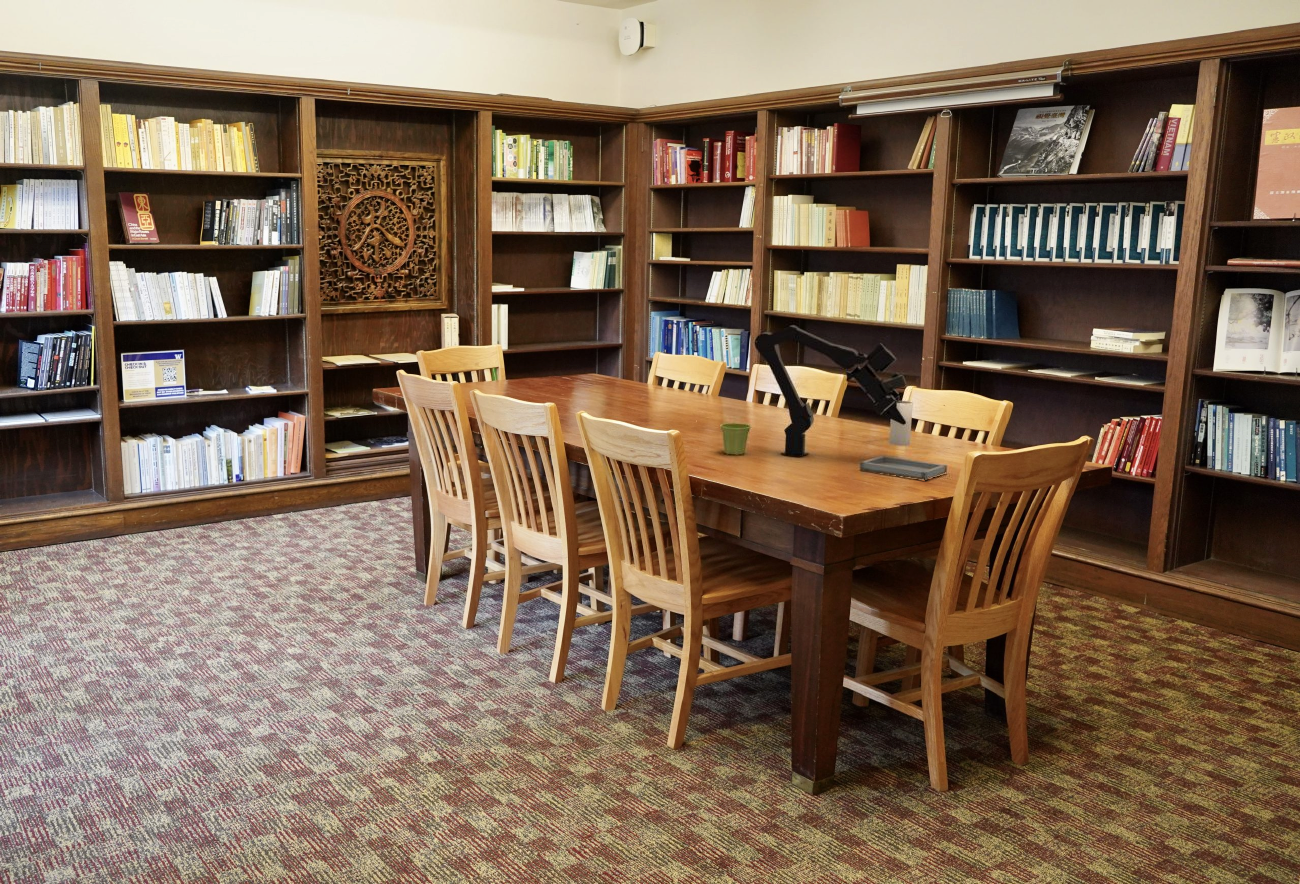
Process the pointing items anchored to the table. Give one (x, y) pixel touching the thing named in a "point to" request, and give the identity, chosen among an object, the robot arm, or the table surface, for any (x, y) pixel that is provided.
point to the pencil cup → (899, 431)
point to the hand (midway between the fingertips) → (905, 422)
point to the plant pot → (735, 437)
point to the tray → (903, 467)
